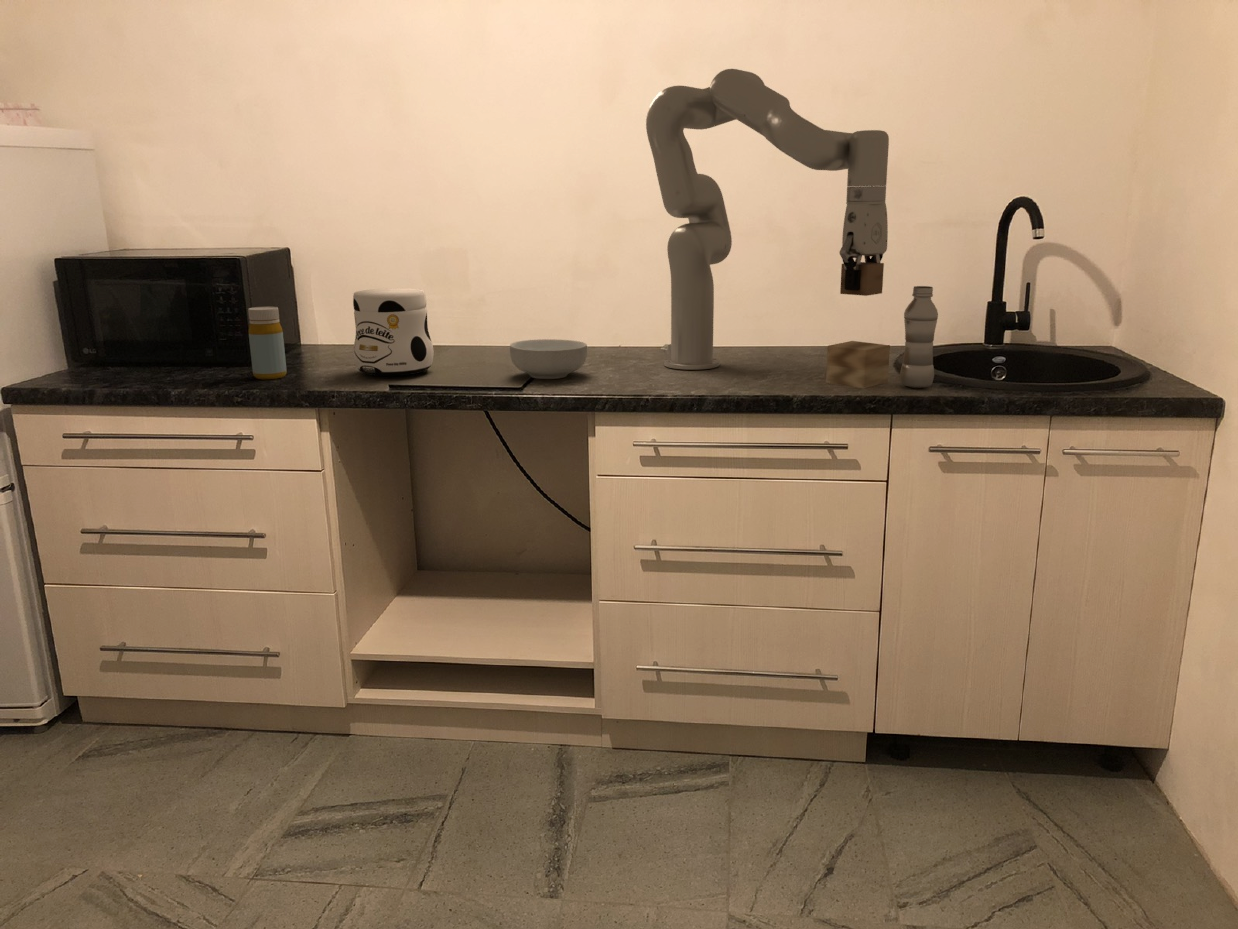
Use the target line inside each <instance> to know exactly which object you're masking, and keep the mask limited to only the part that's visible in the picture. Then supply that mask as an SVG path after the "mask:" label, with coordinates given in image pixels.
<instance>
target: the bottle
mask: <svg viewBox="0 0 1238 929" xmlns="http://www.w3.org/2000/svg"><path fill="white" fill-rule="evenodd" d="M247 309H248V310H247V312H248V319H249V326H248V339H249V340H248V341H249V349H250V350H249V351H250V357H251V358H250V359H251V367H252V368H251V369H252V375H253V377H254V378H255V379H256V380H257V379H258V380H274V379H276V380H277V379H282V378H284V377H285V376H286V375H287V363H286V362H287V360H286V353H285V351H286V350H285V341H284V332H283V328H282V326H281V323H280V314H279V313H280V312H279V308H278V306H256V307H250V308H247Z"/></svg>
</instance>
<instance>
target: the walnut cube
mask: <svg viewBox="0 0 1238 929" xmlns="http://www.w3.org/2000/svg"><path fill="white" fill-rule="evenodd" d="M884 267H885V263H884V262H880V263H869V262H865V261H861V262H860V266H859V269H858V270H861V277H860V290H857V291H856V290H845V269H844V263H841V268H840V271H841V272H840V289H839V290H840V291H839V294H840V295H852V296H864V297H867V296H874V295H880V294H881V295H882V294H883V287H884V286H883V284H884V270H885V269H884Z"/></svg>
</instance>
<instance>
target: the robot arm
mask: <svg viewBox="0 0 1238 929" xmlns="http://www.w3.org/2000/svg"><path fill="white" fill-rule="evenodd" d="M735 120H737V121H738V122H740V123H741V124H743V125H745V126H747V127H748V128H750V129H751V130H753V131H755V132H757V133H758V134H759V135H762V136H763V137H764V138H765V139H766V140H767V141H768V142H770V143H771V145H772V146H774V147H775V148H776V149H778V150H779V151H780V152H781V153H784V154H785V155H787V156H788V157H790V158H792V159H793V160H795V161H797V162H798V163H800V164H801V165H803V166H805V167H807V168H809V169H812V170H815V171H830V172H831V171H832V172H834V171H835V172H836V171H843V170H847V179H846V180H847V182H846V184H847V185H846V186H847V187H846V202H845V204H846V207H845V213H844V220H843V225H842V227H843V228H842V238H841V240H842V242H841V248H840V250H839V251H838V252H839V255H840V257H841V260H842V264H844V269H845V290H856V291H857V290H860V277H861V270H858V269H859V266H860V262H862V258H863V256H864V262H869V263H881V261H882V259H883V257H884V254H885V253H886V252H887V250H888V233H889V231H888V224H889V223H888V211H887V210H888V209H887V204H886V200H887V199H886V198H887V197H886V196H887V183H888V182H887V180H888V178H887V177H888V162H889V145H890V144H889V143H890V138H889V134H888V132H887V131H885V130H880V129H877V130H876V129H873V130H872V129H871V130H870V129H868V130H856V131H854V132H844V131H837V130H829V129H824V128H821V127H820V126H818V125H816V124H814V123H812V122H810V121H809V120H807V119H806V118H804V117H803V116H801V115H800V114H798V113H797V112H795V110H793V109H792V106H791V103H790V100H789V98H787V97H786V96H784V95H782V94H781V93H779V92H777V91H775V90H773V89H772V88H770V87H769V86H767V85H765V82H764V80H763V79H762V78H761V77H760V76H759V75H757V74H756V73H754V72H751V71H747V70H742V69H737V68H726V69H723V70H721V71H720V72H718V73H717V74H716V75H715V76H714V77H713V79H712V80H711V83H710V86H708V87H706V88H701V87H699V88H698V87H693V86H688V85H687V86H686V85H672V86H669V87H667V88H664V89H663V90H661V91H660V92H658V93H657V95H656V96H655V97H654V98H653V100H652V101H651V103H650V105H649V108H648V110H647V115H646V119H645V123H646V124H645V128H646V135H647V136H646V137H647V140H648V143H649V147H650V151H651V154H652V157H653V161H654V167H655V172H656V177H657V181H658V186H659V190H660V194H661V198H662V200H661V201H662V203H663V207H664V210H666V212H667V213H668V215H670V216H672V217H673V218H677V219H688V222H689V223H688V222H687V223H684V224H681V225H680V226H678V227H677V228H675V229H674V230H673V231H672V233H671V235H670V236H669V238H668V242H667V249H666V250H667V258H668V262H669V269H670V270H669V271H670V298H671V300H670V303H671V304H670V305H671V306H670V309H671V310H670V313H671V314H670V317H671V318H670V327H671V328H670V343H669V344H667V343H665V344H664V345H663V346H662V347H660V349H659V350H660V351H659V352H660V353H661V354H666V355H667V358H666V359H664V361H663V362H664V364H663V365H664V366H665V367H666V368H669V369H675V370H687V371H688V370H690V371H691V370H692V371H695V370H697V371H699V370H709V369H715V368H718V367H719V366H720V362H721V361H720V360H719V358H715V357H714V314H715V313H714V312H715V311H714V310H715V307H714V306H715V305H714V304H715V301H714V299H715V298H714V297H715V295H714V294H715V293H714V292H715V291H714V289H715V288H714V287H715V286H714V285H715V284H714V277H713V272H712V268H711V265H716V264H719V263H722V262H723V261H724V260H726V259H727V257H728V255H730V252H731V249H732V245H733V240H732V239H733V238H732V232H731V228H730V222H729V218H728V214H727V209H726V204H725V200H724V196H723V192H722V190H721V188H720V186H719V184H718V182H716V180H715V179H714V178H712V176H709V175H708V174H704V173H698V171H697V169H696V165H695V161H694V155H693V151H692V147H691V145H690V144H689V142H688V139H687V138H686V136H685V133H684V132H685V131H684V130H685V129H688V130H707V129H712V128H715V127H717V126H720V125H723V124H726V123H729V122H732V121H735ZM854 259H855V260H854Z"/></svg>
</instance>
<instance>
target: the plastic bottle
mask: <svg viewBox="0 0 1238 929" xmlns="http://www.w3.org/2000/svg"><path fill="white" fill-rule="evenodd" d="M912 289H913V290H912V295H911V296H912V297H913V299H912V300H911V302H910V303H909V304H908V305H907V306H906V308H905V310H904V314H903V318H904V319H903V320H904V330H905V331H904V333H905V335H904V339H905V342H904V354H903V360H902V365H901V367H900V373H899V375H900V376H899V378H900V382H901V383H902V385H903V386H905V387H908V388H909V387H910V388H912V389H921V388H928V387H931V385H932V384H933V382H934V377H935V368H934V367H935V366H934V353H933V352H934V351H933V350H934V347H933V346H934V339H935V332H936V328H937V323H938V317H939V312H938V309H937V307H936V305H935V303H934V302H933V300H932V298H933V296H934V294H933V293H934V292H933V290H934V288H933V286H928V285H917V286H913V288H912Z"/></svg>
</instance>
